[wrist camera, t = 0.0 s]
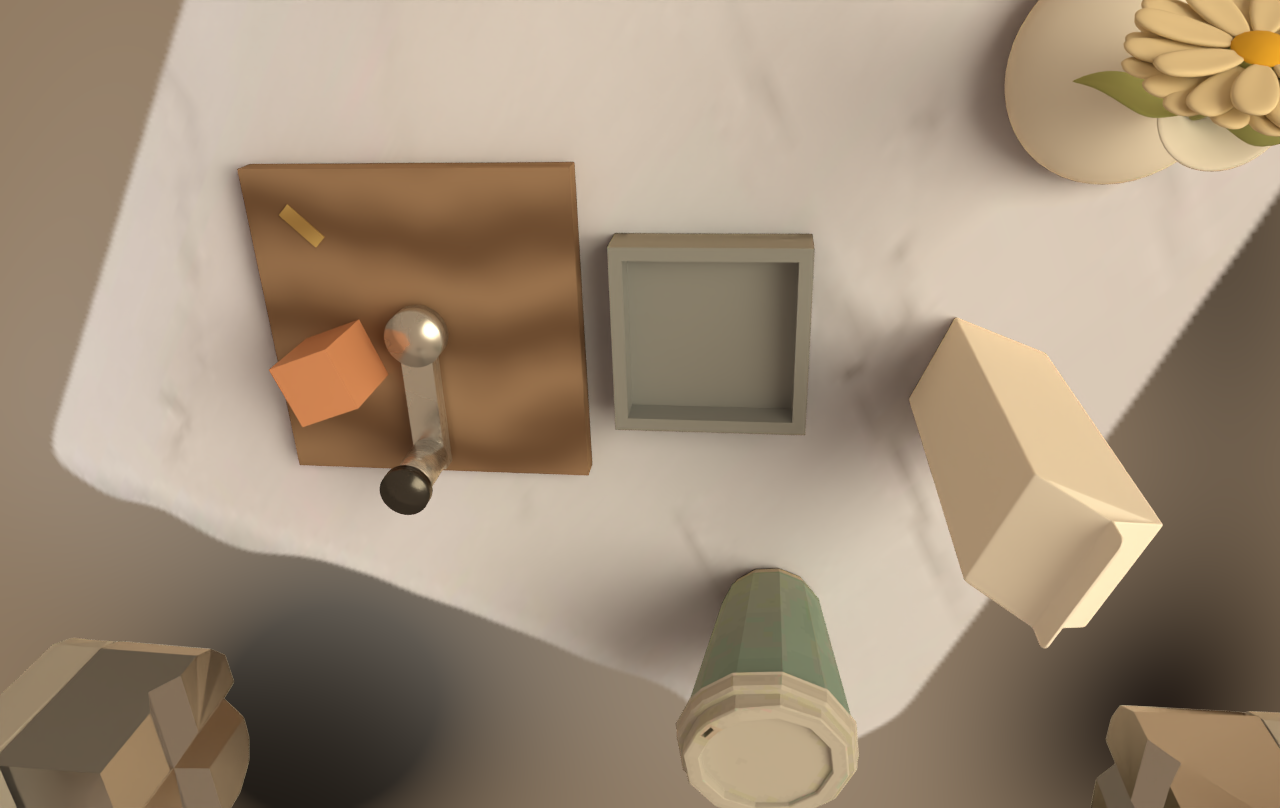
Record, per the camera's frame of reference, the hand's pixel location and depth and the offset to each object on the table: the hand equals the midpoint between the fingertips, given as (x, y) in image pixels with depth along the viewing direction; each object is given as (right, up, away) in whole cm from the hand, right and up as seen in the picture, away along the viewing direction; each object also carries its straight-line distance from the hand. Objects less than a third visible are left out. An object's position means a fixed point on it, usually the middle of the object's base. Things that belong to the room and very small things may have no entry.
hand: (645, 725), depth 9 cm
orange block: (-19, +6, +52) cm, 55 cm away
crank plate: (-14, +8, +52) cm, 54 cm away
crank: (-14, +4, +52) cm, 54 cm away
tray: (+4, +8, +49) cm, 50 cm away
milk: (+20, +5, +49) cm, 53 cm away
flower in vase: (+24, +21, +41) cm, 51 cm away
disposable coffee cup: (+9, -11, +58) cm, 60 cm away
